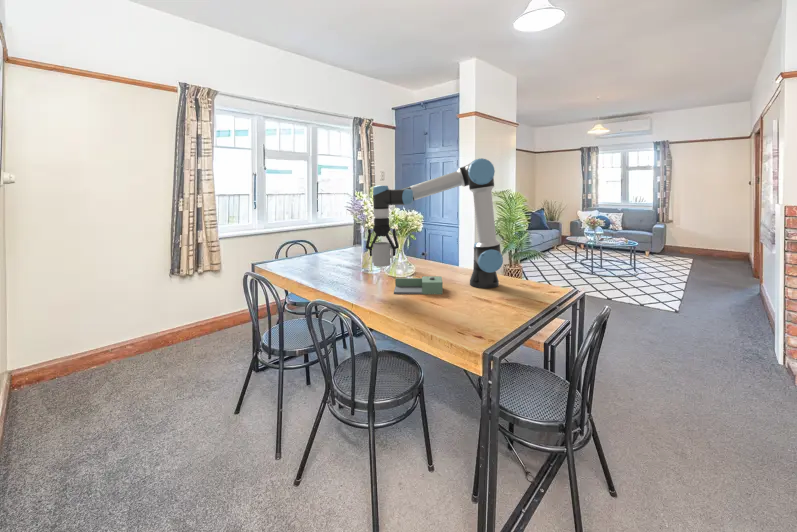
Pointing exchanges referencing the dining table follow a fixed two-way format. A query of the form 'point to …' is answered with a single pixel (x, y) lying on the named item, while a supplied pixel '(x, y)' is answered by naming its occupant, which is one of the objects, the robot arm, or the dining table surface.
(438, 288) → the green stepped block
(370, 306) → the dining table surface
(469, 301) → the dining table surface
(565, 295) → the dining table surface
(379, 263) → the mug
